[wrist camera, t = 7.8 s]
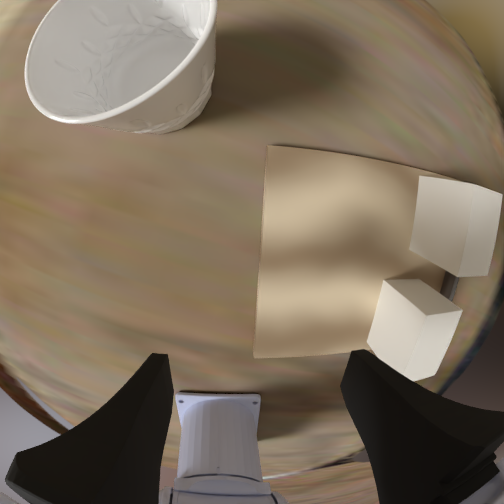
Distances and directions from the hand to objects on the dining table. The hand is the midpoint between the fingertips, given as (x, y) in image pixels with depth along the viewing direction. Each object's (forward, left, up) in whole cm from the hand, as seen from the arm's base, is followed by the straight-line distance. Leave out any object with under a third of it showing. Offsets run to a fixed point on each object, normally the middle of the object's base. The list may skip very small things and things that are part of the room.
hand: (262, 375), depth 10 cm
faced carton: (+6, -15, -10) cm, 19 cm away
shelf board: (+1, -10, -10) cm, 14 cm away
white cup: (+13, +6, -11) cm, 18 cm away
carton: (-3, -13, -10) cm, 16 cm away
